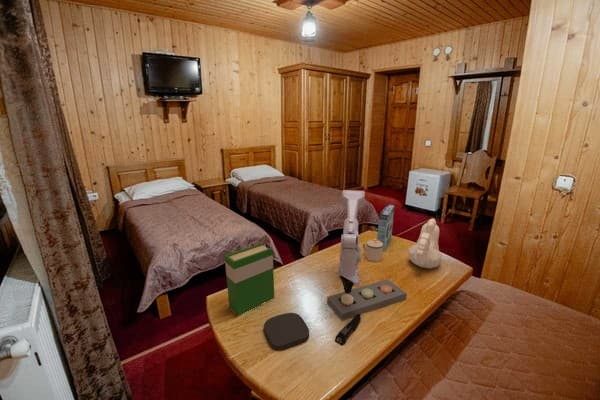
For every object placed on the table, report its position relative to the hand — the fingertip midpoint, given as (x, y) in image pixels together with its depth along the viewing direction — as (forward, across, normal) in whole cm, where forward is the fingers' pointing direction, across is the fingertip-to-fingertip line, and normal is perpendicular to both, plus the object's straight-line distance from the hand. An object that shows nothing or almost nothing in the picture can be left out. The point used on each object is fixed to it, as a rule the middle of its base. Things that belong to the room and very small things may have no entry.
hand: (347, 292), depth 115 cm
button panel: (+7, +1, -10) cm, 12 cm away
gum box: (+7, +46, -49) cm, 67 cm away
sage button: (+5, +1, -10) cm, 11 cm away
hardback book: (+7, +15, +37) cm, 40 cm away
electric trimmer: (+8, -12, +6) cm, 16 cm away
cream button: (+5, 0, 0) cm, 5 cm away
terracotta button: (+6, +2, -20) cm, 21 cm away
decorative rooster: (+7, +18, -52) cm, 55 cm away
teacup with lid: (+7, +34, -33) cm, 48 cm away
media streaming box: (+8, -6, +28) cm, 29 cm away
